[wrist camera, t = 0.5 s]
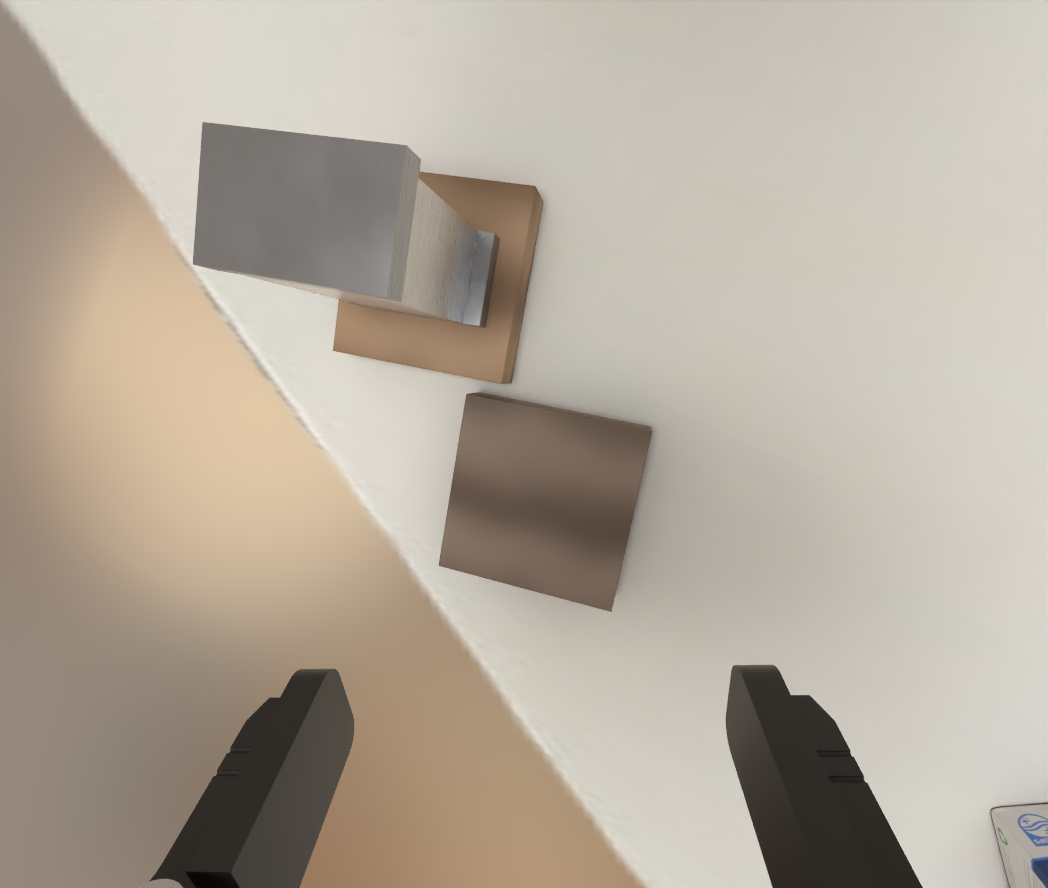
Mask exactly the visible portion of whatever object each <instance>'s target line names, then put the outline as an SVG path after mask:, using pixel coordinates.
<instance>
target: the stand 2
mask: <svg viewBox="0 0 1048 888" xmlns="http://www.w3.org/2000/svg"><path fill="white" fill-rule="evenodd" d="M651 433H652V430H651V427H648V426H643V425H638V424H633V423H628V422H623V421H618V420H613V419H608V418H603V417H598V416H593V415H588V414H583V413H578V412H573V411H568V410H563V409H558V408H553V407H548V406H543V405H538V404H533V403H528V402H523V401H518V400H513V399H508V398H503V397H498V396H493V395H488V394H483V393H471V394H466V400H465V406H464V412H463V418H462V424H461V431H460V437H459V443H458V449H457V455H456V461H455V468H454V474H453V480H452V486H451V492H450V499H449V505H448V511H447V517H446V523H445V530H444V536H443V542H442V548H441V554H440V561H439V566H442V567H446V568H449V569H453V570H457V571H461V572H464V573H468V574H472V575H476V576H479V577H483V578H487V579H491V580H494V581H498V582H502V583H506V584H509V585H513V586H517V587H521V588H524V589H528V590H532V591H536V592H539V593H543V594H547V595H551V596H554V597H558V598H562V599H566V600H569V601H573V602H577V603H581V604H584V605H588V606H592V607H596V608H599V609H603V610H607V611H610V612H611V611H612V606H613V602H614V597H615V593H616V589H617V584H618V580H619V575H620V571H621V566H622V562H623V558H624V553H625V549H626V544H627V540H628V535H629V531H630V526H631V522H632V518H633V513H634V509H635V504H636V500H637V495H638V491H639V487H640V482H641V478H642V473H643V469H644V464H645V460H646V455H647V451H648V447H649V442H650V438H651Z"/></svg>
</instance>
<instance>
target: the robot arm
mask: <svg viewBox="0 0 1048 888" xmlns="http://www.w3.org/2000/svg"><path fill="white" fill-rule="evenodd" d="M726 730H727V737H728V743H729V747H730V751H731V755H732V758H733V761H734V764H735V768H736V771H737V774H738V777H739V780H740V784H741V787H742V790H743V793H744V797H745V800H746V803H747V806H748V809H749V813H750V816H751V819H752V822H753V826H754V829H755V832H756V835H757V838H758V842H759V845H760V848H761V851H762V854H763V858H764V861H765V864H766V867H767V871H768V874H769V877H770V880H771V883H772V887H773V888H923V887H922V886H921V884H920V882H919V880H918V878H917V877H916V875H915V873H914V871H913V869H912V867H911V865H910V863H909V861H908V859H907V858H906V856H905V854H904V852H903V850H902V848H901V846H900V844H899V842H898V840H897V838H896V837H895V835H894V833H893V831H892V829H891V827H890V825H889V823H888V821H887V819H886V818H885V816H884V814H883V812H882V810H881V808H880V806H879V804H878V802H877V800H876V799H875V797H874V795H873V793H872V791H871V789H870V787H869V785H868V783H865V781H864V776H863V774H862V772H861V770H860V768H859V766H858V764H857V762H856V761H855V759H854V757H852V756H851V753H850V749H849V747H848V745H847V743H846V742H845V740H844V738H843V736H842V734H841V732H840V730H839V728H838V726H837V724H836V723H835V721H834V720H833V719H832V718H831V717H830V716H829V715H828V714H827V713H826V712H825V711H824V710H823V709H822V707H821V706H820V705H819V704H818V703H817V702H816V701H815V700H814V699H813V698H812V697H811V696H810V695H790V693H789V691H788V688H787V686H786V684H785V682H784V680H783V678H782V676H781V674H780V672H779V670H778V669H777V667H776V666H774V665H735V666H733V668H732V671H731V679H730V687H729V695H728V703H727V712H726ZM353 736H354V718H353V714H352V711H351V708H350V705H349V702H348V699H347V696H346V693H345V690H344V687H343V684H342V681H341V678H340V675H339V673H338V671H337V670H336V669H301V670H298V671H296V672H295V673H294V675H293V676H292V677H291V679H290V681H289V683H288V684H287V687H286V688H285V690H284V692H283V693H282V695H281V697H280V698H269V699H268V700H267V701H266V702H265V703H264V704H263V705H262V706H261V707H260V708H259V709H258V710H257V711H256V712H255V713H254V714H253V715H252V716H251V717H250V718H249V719H248V720H247V721H246V722H245V724H244V726H243V727H242V729H241V731H240V733H239V734H238V736H237V738H236V739H235V741H234V743H233V744H232V746H231V750H230V753H227V754H226V756H225V758H224V760H223V761H222V763H221V765H220V767H219V768H218V770H217V775H216V776H214V777H213V778H212V780H211V782H210V783H209V785H208V787H207V789H206V790H205V792H204V794H203V795H202V797H201V799H200V800H199V802H198V804H197V805H196V807H195V809H194V811H193V812H192V814H191V816H190V817H189V819H188V821H187V822H186V824H185V826H184V828H183V829H182V831H181V833H180V834H179V836H178V838H177V839H176V841H175V843H174V844H173V846H172V848H171V849H170V851H169V853H168V855H167V856H166V858H165V860H164V862H163V863H162V865H161V866H160V868H159V869H158V871H157V872H156V874H155V875H154V876H153V877H152V879H151V880H150V881H149V882H147V883H145V884H142V885H141V886H139V887H137V888H299V887H300V884H301V881H302V879H303V876H304V873H305V870H306V868H307V865H308V862H309V860H310V857H311V854H312V852H313V849H314V847H315V844H316V841H317V838H318V836H319V833H320V830H321V827H322V825H323V822H324V820H325V817H326V814H327V812H328V809H329V806H330V803H331V801H332V798H333V795H334V793H335V790H336V787H337V784H338V782H339V779H340V777H341V774H342V771H343V768H344V766H345V762H346V760H347V757H348V755H349V752H350V749H351V746H352V742H353Z"/></svg>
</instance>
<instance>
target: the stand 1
mask: <svg viewBox="0 0 1048 888" xmlns="http://www.w3.org/2000/svg"><path fill="white" fill-rule="evenodd" d="M418 178H419V179H420V180H421V181H423V182H424V183H425V184H426V185H427V186H428V187H429V188H430V189H431V190H432V191H434V192H435V193H436V194H437V195H438V196H439V197H440V198H441V199H442V200H444V201H445V202H446V203H447V204H448V205H449V206H450V207H451V208H452V209H453V210H455V211H456V212H457V213H458V214H459V215H460V216H461V217H462V218H463V219H465V220H466V221H467V222H468V223H469V224H470V225H471V226H472V227H473V228H474V229H476V230H477V231H482V232H489V233H495V234H496V235H497V236H498V237H499V238H500V242H499V248H498V254H497V261H496V267H495V273H494V279H493V285H492V291H491V297H490V303H489V309H488V315H487V321H486V328H483V327H477V326H472V325H466V324H460V323H455V322H449V321H443V320H438V319H432V318H426V317H421V316H415V315H409V314H404V313H398V312H393V311H387V310H381V309H376V308H370V307H364V306H359V305H355V304H351V303H350V302H348V301H344V300H340V299H339V304H338V312H337V321H336V329H335V338H334V347H333V351H337V352H342V353H347V354H352V355H357V356H362V357H367V358H372V359H377V360H382V361H388V362H393V363H398V364H403V365H408V366H413V367H418V368H423V369H428V370H434V371H439V372H444V373H449V374H454V375H459V376H464V377H469V378H474V379H480V380H485V381H490V382H495V383H500V384H505V383H511V381H512V375H513V369H514V364H515V358H516V352H517V347H518V341H519V335H520V330H521V324H522V318H523V312H524V307H525V301H526V295H527V290H528V284H529V278H530V273H531V267H532V261H533V256H534V250H535V244H536V238H537V233H538V227H539V221H540V216H541V210H542V204H543V200H542V198H541V196H540V194H539V192H538V190H537V188H536V187H535V186H530V185H522V184H514V183H506V182H498V181H489V180H481V179H473V178H465V177H457V176H449V175H441V174H433V173H425V172H419V177H418Z"/></svg>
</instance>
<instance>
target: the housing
mask: <svg viewBox="0 0 1048 888" xmlns="http://www.w3.org/2000/svg"><path fill="white" fill-rule="evenodd" d="M420 163H421V159H420V158H419V157H418V156H417V155H416V154H415V153H414V152H413V151H412V150H411V149H410V148H409V147H408V146H407V145H398V144H389V143H380V142H372V141H363V140H354V139H345V138H337V137H328V136H319V135H310V134H302V133H293V132H284V131H275V130H267V129H258V128H249V127H240V126H232V125H223V124H214V123H205V122H203V125H202V139H201V154H200V168H199V183H198V197H197V212H196V227H195V241H194V256H193V264H194V265H198V266H202V267H206V268H210V269H214V270H218V271H224V272H230V273H236V274H241V275H245V276H249V277H253V278H257V279H261V280H265V281H268V282H272V283H276V284H280V285H284V286H288V287H292V288H296V289H300V290H304V291H308V292H312V293H316V294H320V295H324V296H328V297H332V298H336V299H340V300H344V301H348V302H350V303H351V304H355V305H359V306H364V307H370V308H376V309H381V310H387V311H393V312H398V313H404V314H409V315H415V316H421V317H426V318H432V319H438V320H443V321H449V322H455V323H460V324H466V325H472V326H477V327H483V328H486V321H487V315H488V309H489V303H490V297H491V291H492V285H493V279H494V273H495V267H496V261H497V254H498V248H499V242H500V238H499V237H498V236H497V235H496V234H495V233H489V232H482V231H477V230H476V229H474V228H473V227H472V226H471V225H470V224H469V223H468V222H467V221H466V220H465V219H463V218H462V217H461V216H460V215H459V214H458V213H457V212H456V211H455V210H453V209H452V208H451V207H450V206H449V205H448V204H447V203H446V202H445V201H444V200H442V199H441V198H440V197H439V196H438V195H437V194H436V193H435V192H434V191H432V190H431V189H430V188H429V187H428V186H427V185H426V184H425V183H424V182H423V181H421V180H420V179H419V178H418V177H419V170H420Z"/></svg>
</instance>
